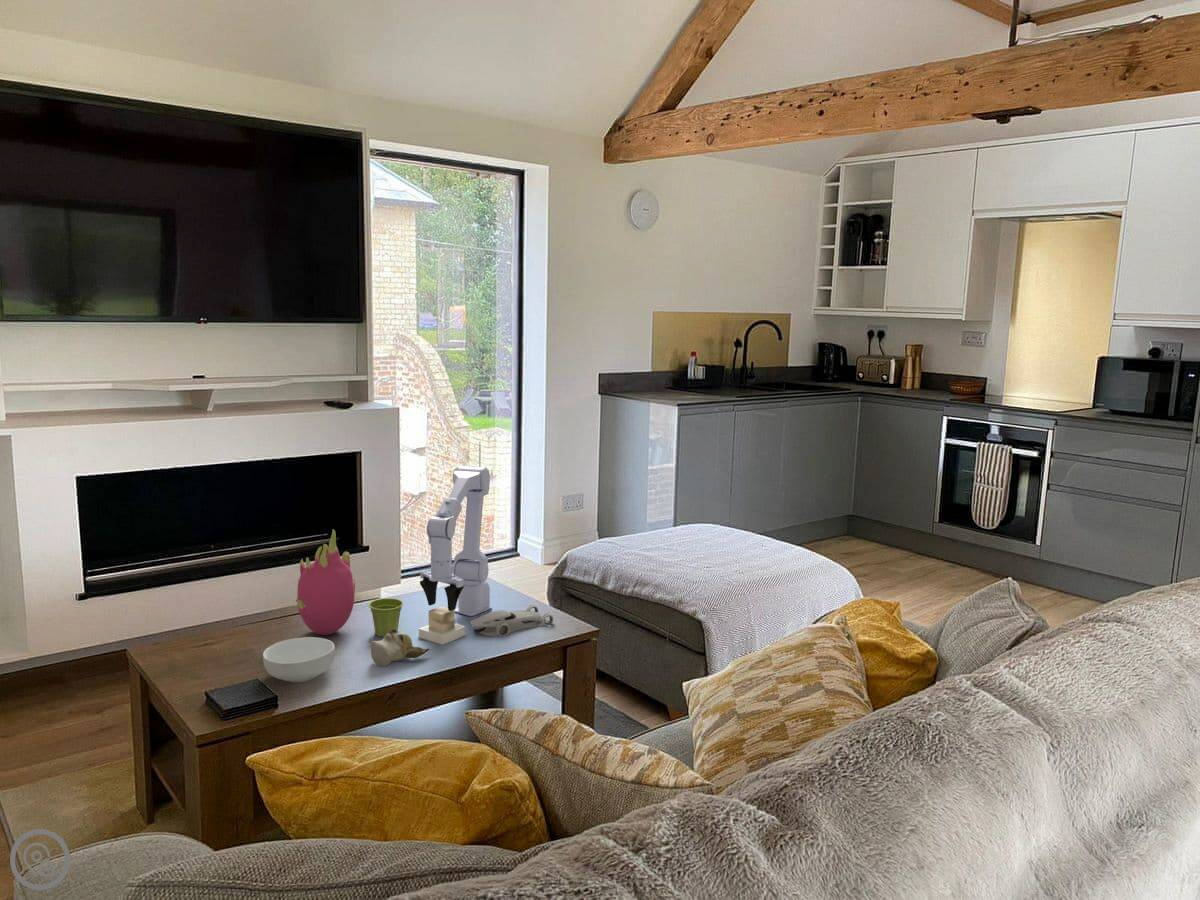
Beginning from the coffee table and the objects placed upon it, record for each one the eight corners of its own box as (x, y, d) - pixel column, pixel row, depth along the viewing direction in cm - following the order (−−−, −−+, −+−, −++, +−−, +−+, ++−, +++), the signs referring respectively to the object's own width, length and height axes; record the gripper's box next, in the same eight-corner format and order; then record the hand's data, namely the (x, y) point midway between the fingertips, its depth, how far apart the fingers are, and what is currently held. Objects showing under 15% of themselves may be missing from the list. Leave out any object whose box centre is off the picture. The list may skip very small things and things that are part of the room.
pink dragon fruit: (341, 619, 261) (338, 519, 256) (368, 631, 252) (366, 527, 248) (285, 635, 248) (281, 530, 243) (311, 648, 239) (308, 539, 234)
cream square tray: (441, 628, 256) (441, 619, 255) (465, 635, 251) (465, 626, 250) (418, 637, 248) (418, 628, 248) (442, 644, 243) (442, 635, 243)
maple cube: (441, 623, 252) (441, 606, 252) (454, 627, 250) (454, 609, 249) (428, 628, 248) (428, 610, 248) (441, 632, 246) (441, 614, 245)
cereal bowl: (297, 658, 232) (296, 632, 231) (349, 669, 226) (348, 642, 225) (248, 683, 217) (247, 655, 216) (303, 695, 210) (302, 666, 209)
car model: (556, 625, 261) (556, 608, 260) (481, 641, 248) (481, 624, 247) (537, 614, 270) (537, 598, 269) (463, 629, 257) (463, 612, 256)
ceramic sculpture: (359, 630, 229) (405, 618, 240) (357, 662, 230) (404, 649, 241) (385, 640, 222) (432, 628, 234) (383, 674, 223) (430, 660, 235)
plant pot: (408, 628, 255) (407, 598, 254) (397, 640, 246) (397, 609, 245) (376, 626, 256) (375, 597, 255) (364, 638, 247) (363, 608, 246)
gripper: (411, 558, 247) (412, 605, 249) (450, 567, 239) (451, 616, 241) (430, 552, 253) (430, 599, 255) (468, 561, 245) (468, 609, 247)
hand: (441, 607), depth 248 cm, fingers open, 7 cm apart
